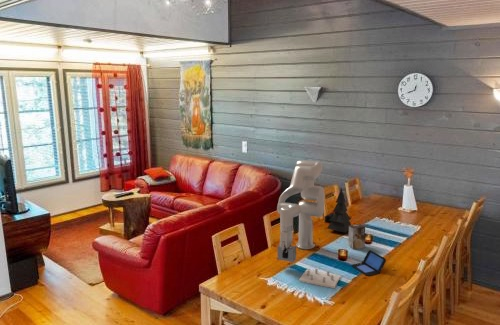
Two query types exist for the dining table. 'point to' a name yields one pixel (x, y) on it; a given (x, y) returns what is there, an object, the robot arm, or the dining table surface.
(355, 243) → the coffee box
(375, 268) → the handheld game console
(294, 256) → the block
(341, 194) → the decorative tree
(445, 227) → the dining table surface
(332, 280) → the pin tray
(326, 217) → the film camera
